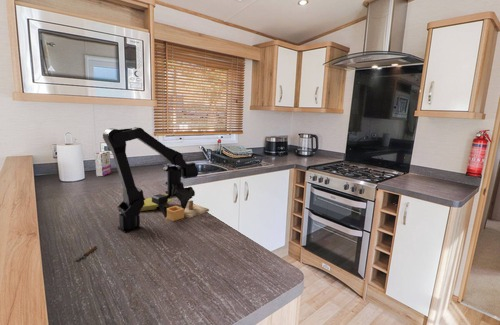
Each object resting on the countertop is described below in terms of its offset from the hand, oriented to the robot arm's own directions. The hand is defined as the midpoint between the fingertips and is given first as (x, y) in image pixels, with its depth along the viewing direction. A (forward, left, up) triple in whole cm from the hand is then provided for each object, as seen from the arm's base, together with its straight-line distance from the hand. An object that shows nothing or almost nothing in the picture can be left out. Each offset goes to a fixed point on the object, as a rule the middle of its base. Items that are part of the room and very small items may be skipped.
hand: (174, 214), depth 118 cm
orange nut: (0, 0, -1) cm, 1 cm away
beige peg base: (+10, +1, -1) cm, 10 cm away
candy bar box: (+14, +101, -2) cm, 102 cm away
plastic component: (0, +18, -2) cm, 18 cm away
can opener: (-38, -6, -2) cm, 39 cm away
